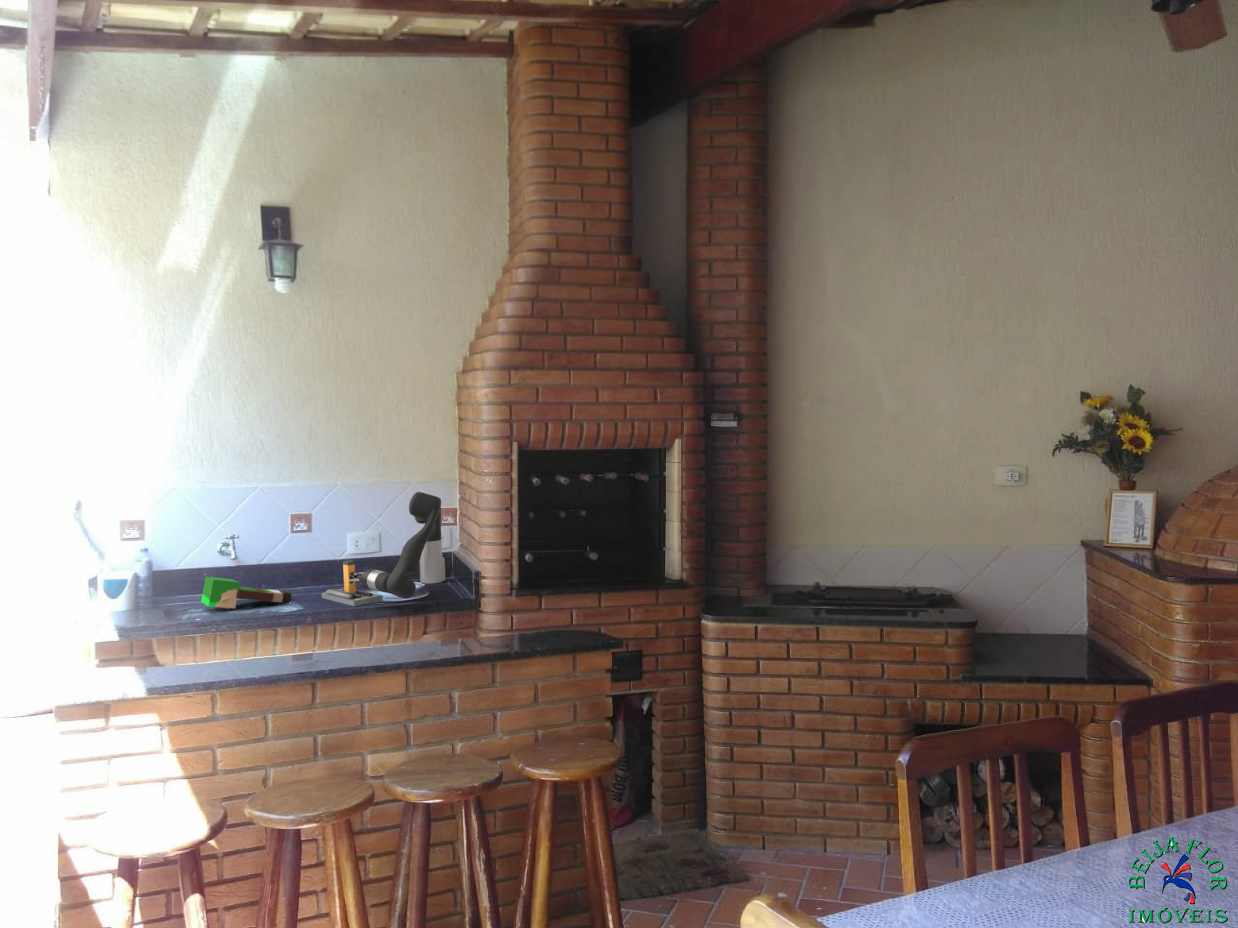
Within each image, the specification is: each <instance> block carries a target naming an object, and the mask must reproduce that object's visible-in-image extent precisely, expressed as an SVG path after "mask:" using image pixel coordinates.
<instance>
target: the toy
mask: <svg viewBox="0 0 1238 928" xmlns="http://www.w3.org/2000/svg"><path fill="white" fill-rule="evenodd" d="M240 583H241V582H240V581H237V580H235V579H233V578H225V577H216V576H215V577H214V576H205V577H204V585H203V589H202V595H201V600H200V603H202V604H204V605H206V606H207V607H214V608H215V607H216V608H224V609H226V610H228V609H236V608H237V607H236V606H237V601H238V599H241V600H251V601H252V600H253V601H261V602H272V603H273V602H274V603H283V602H285V603H290V602H291V600H292V595H293V594H292V593H290V592H288V591H286V590H277V589H267V588H258V587H249V586H248V587H247V586H240V585H241V584H240Z"/></svg>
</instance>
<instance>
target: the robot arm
mask: <svg viewBox="0 0 1238 928" xmlns="http://www.w3.org/2000/svg"><path fill="white" fill-rule="evenodd" d="M408 512H409V514H410V515H411V516H413V517H414V519H415V522H416V523H417V524H422V525H423V527H422V528H421V529H420V530H419V531H418V532H416V534H413V536H412V537H410V538H409V539H408V540H407V541H406V543H405V544H404V545H403V547H402V549H401V553H400V556H399V559H398V561H397V564H396V565H395V567H394V568H393V570H392V571H391V573H389V572H385V571H383V570H378V569H374V568H369V569H366V570H365V571H362V572H361V571H360V572H357V571H355V572H351V573H350V576H349V583H350V584H352V583H354V581H355V583H358V584H360V585H362V586H363V588H365V589H366V590H370V591H375V592H381V593H387V594H391V595H394V596H396V597H398V598H401V599H409V598H412V596H414V594H415V593H416V590H417V586H416V583H415V581H413V580H412V579H411V578H409V577H407V576H405V573H407V574H408V573H409V574H413V573H415V572H416V571H417V570H418V567H419V580H420V581H419V582H420V583H421V584H429V585H430V584H431V585H432V584H438V583H442V582H444V581H446V566H445V563H446V562H445V557H443V545H442V544H443V543H442V542H443V541H442V540H443V539H442V500H441V498H440V497H438V496H436V495H432V494H429V493H425V492H422V491H416V492H415V493H414V494H413V495H412V497H411V499H410V500H409V504H408Z"/></svg>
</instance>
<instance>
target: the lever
mask: <svg viewBox="0 0 1238 928" xmlns="http://www.w3.org/2000/svg"><path fill="white" fill-rule="evenodd" d="M355 566H356V565H355V560H343V561H342V567H343V568H342V569H343V587H344V591H346V592H350V593H356V589H357V587H356V583H357V582H356V581H354V583H352V584H350V583H349V576H350V573H351V572H356V567H355Z"/></svg>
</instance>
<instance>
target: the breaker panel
mask: <svg viewBox="0 0 1238 928" xmlns="http://www.w3.org/2000/svg"><path fill="white" fill-rule="evenodd" d="M321 598H322V599H324V600H328V601H332V602H334V603H335V602H336V603H339V604H344V605H348V606H352V607H358V606H363V605H369V604H373V603H379V602H383V601H384V599H383V595H380V594H377V593H373V592H369V591H366V590H365V591H364V590H361V589H357V588H356V593H350V592H346V591H344V586H342V588H339V589H337V588H331V589H327V590H326V591H324V592H321Z"/></svg>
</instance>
